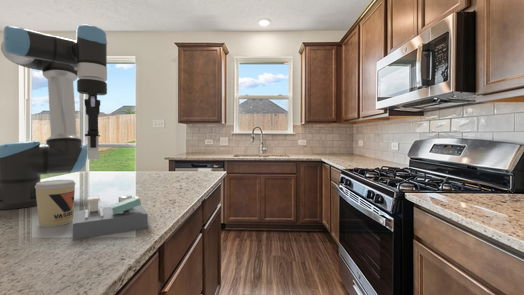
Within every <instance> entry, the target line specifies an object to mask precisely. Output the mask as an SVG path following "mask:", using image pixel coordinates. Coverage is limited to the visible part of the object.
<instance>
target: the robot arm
mask: <svg viewBox="0 0 524 295" xmlns="http://www.w3.org/2000/svg"><path fill="white" fill-rule="evenodd" d="M75 37H76V40H73V39H69V38H65V37H60V36H55V35H51V34H46V33H43V32H39V31H34V30H29V29H25V28H23V27H17V26H12V25H6V26H5V27H4V29H3V41H2V43H1V45H0V50H1V53H2V54H3V56H4V57H5V59H7V60H8V61H10V62H12V63H13V64H16V65H17V66H21V67H22V68H23V67H24V68H26V69H32V70H36V71H42V77H44V78H45V79H46V80H47V90H48V91H47V93H48V109H49V110H48V111H49V123H50V124H49V127H50V135H49V137H48V138H46V139H45V142H46V143H44V144H43V143H42V144H41V141H40V140H29V141H19V142H18V141H17V142H9V143H3V144H0V210H15V209H23V208H24V209H25V208H29V207H34V206H37V199H36V188H35V186H36V183H38V182H42V180H41V176H42V175H52V174H54V175H55V174H71V173H79V172H82V170H84V168H85V166H86V164H87V160H99V159H100V158H99V157H100V156H99V155H100V154H99V153H100V149H99V146H100V145H99V143H100V142H99V138H100V137H101V134H100V132H99V115H100V112H101V110H100V109H101V108H100V107H101V99H98V96H106V95H107V94H108V84H107V81H108V67H107V63H108V62H107V60H108V58H107V54H108V52H107V47H108V46H107V45H108V41H107V33H106V31H104V29H102V28H100V27H98V26H94V25H91V24H81V25H78V26H77V27H76V33H75ZM77 79H78V80H77ZM75 81H76V91H77V93H79V94H82V95H87V99H86V98H84V107H85V114H86V115H87V133H84V137H87V144H86V143H82V138H81V137H80V136H78V133H77V119H76V104H75V88H74V86H75V85H74V82H75Z"/></svg>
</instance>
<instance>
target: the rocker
mask: <svg viewBox="0 0 524 295" xmlns="http://www.w3.org/2000/svg"><path fill="white" fill-rule="evenodd" d="M139 205H141V206H142V202H141V199H140V198H139V196H138V195H133V196H132V198H130V199H127V200H124V201H121V202H119V201H118V202H116V203H113V204H110V207H111V208H112V211H113V214H117V213H120V212H122V211H125V210H128V209H131V208H134V207H136V206H139Z"/></svg>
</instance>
